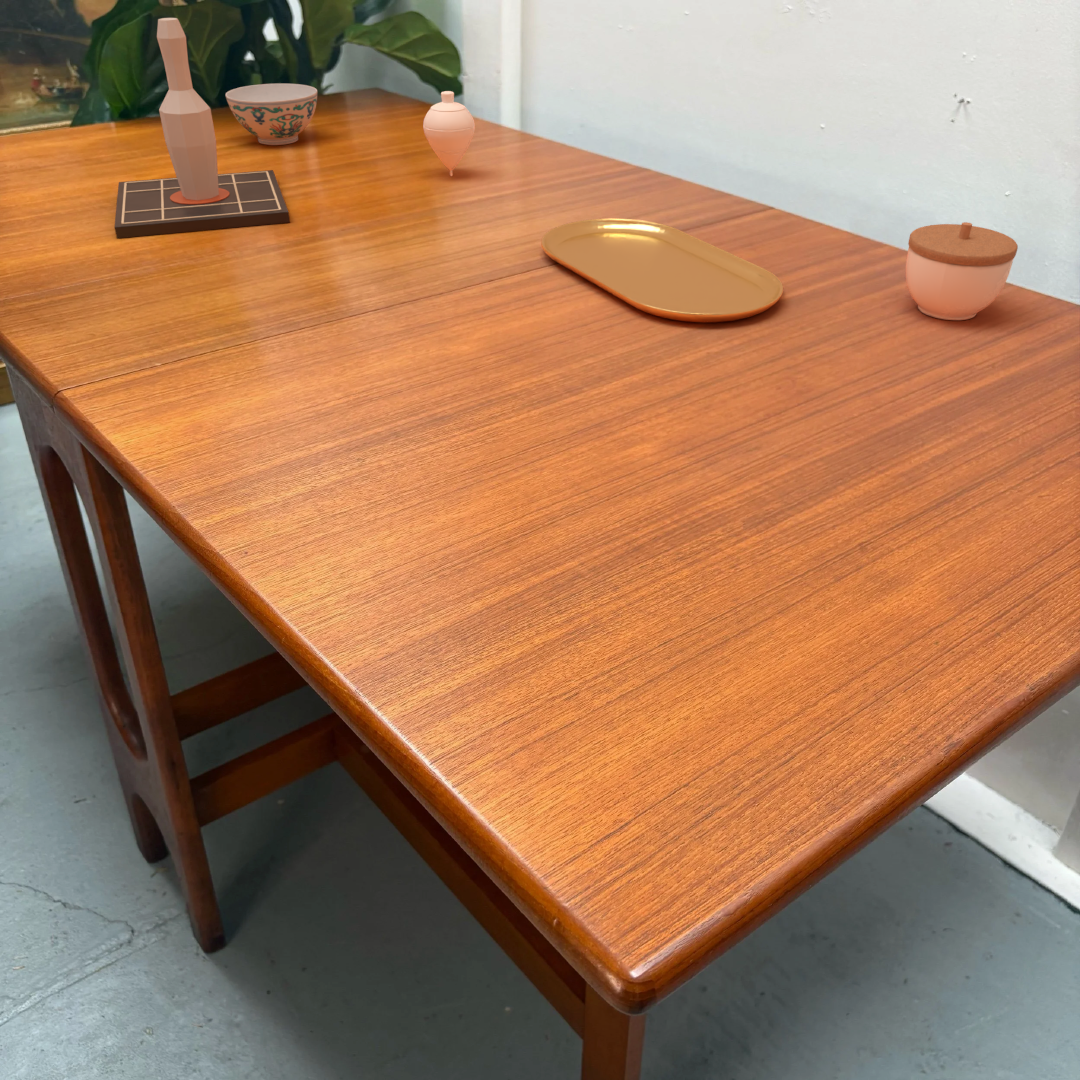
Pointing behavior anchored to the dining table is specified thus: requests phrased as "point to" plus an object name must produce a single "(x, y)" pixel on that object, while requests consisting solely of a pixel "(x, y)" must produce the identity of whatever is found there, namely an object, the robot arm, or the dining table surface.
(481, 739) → the dining table surface
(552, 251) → the serving platter
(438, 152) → the spinning top
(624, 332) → the dining table surface
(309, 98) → the chinaware
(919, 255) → the trinket box
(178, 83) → the faceted bottle
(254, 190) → the grid board
